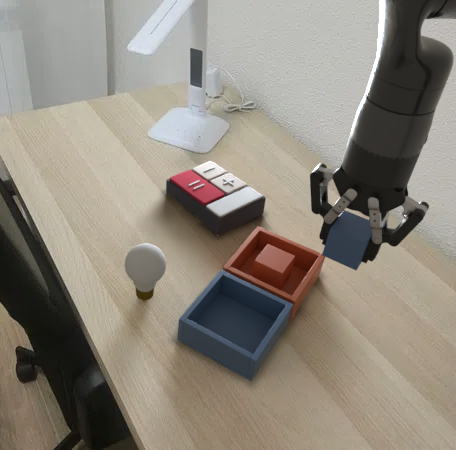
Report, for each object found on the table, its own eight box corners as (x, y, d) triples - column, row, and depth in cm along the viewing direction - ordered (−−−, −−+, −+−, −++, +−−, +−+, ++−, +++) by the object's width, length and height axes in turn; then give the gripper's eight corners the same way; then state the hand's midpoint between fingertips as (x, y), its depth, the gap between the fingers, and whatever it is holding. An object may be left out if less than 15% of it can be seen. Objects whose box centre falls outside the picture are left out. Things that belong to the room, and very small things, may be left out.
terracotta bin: (319, 275, 87) (325, 255, 84) (289, 322, 80) (295, 301, 77) (253, 246, 92) (257, 225, 89) (219, 287, 85) (222, 267, 82)
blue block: (368, 250, 72) (379, 223, 69) (356, 270, 69) (366, 243, 66) (335, 236, 74) (343, 209, 71) (321, 255, 71) (330, 228, 68)
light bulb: (147, 277, 86) (148, 229, 79) (172, 299, 83) (175, 251, 76) (117, 294, 83) (115, 246, 76) (141, 318, 80) (142, 270, 73)
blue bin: (287, 325, 80) (293, 304, 77) (251, 381, 72) (256, 361, 69) (217, 290, 84) (220, 269, 81) (176, 339, 77) (178, 319, 74)
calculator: (211, 157, 105) (267, 194, 96) (209, 176, 108) (264, 213, 98) (165, 176, 100) (220, 216, 91) (164, 195, 103) (218, 236, 93)
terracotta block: (289, 277, 86) (295, 255, 83) (277, 294, 83) (282, 273, 80) (263, 264, 88) (267, 243, 85) (250, 281, 85) (254, 260, 82)
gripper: (311, 129, 60) (282, 243, 71) (446, 176, 54) (392, 292, 66) (336, 103, 65) (306, 214, 76) (464, 143, 59) (410, 257, 70)
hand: (346, 249), depth 71 cm, fingers closed on blue block, 4 cm apart
